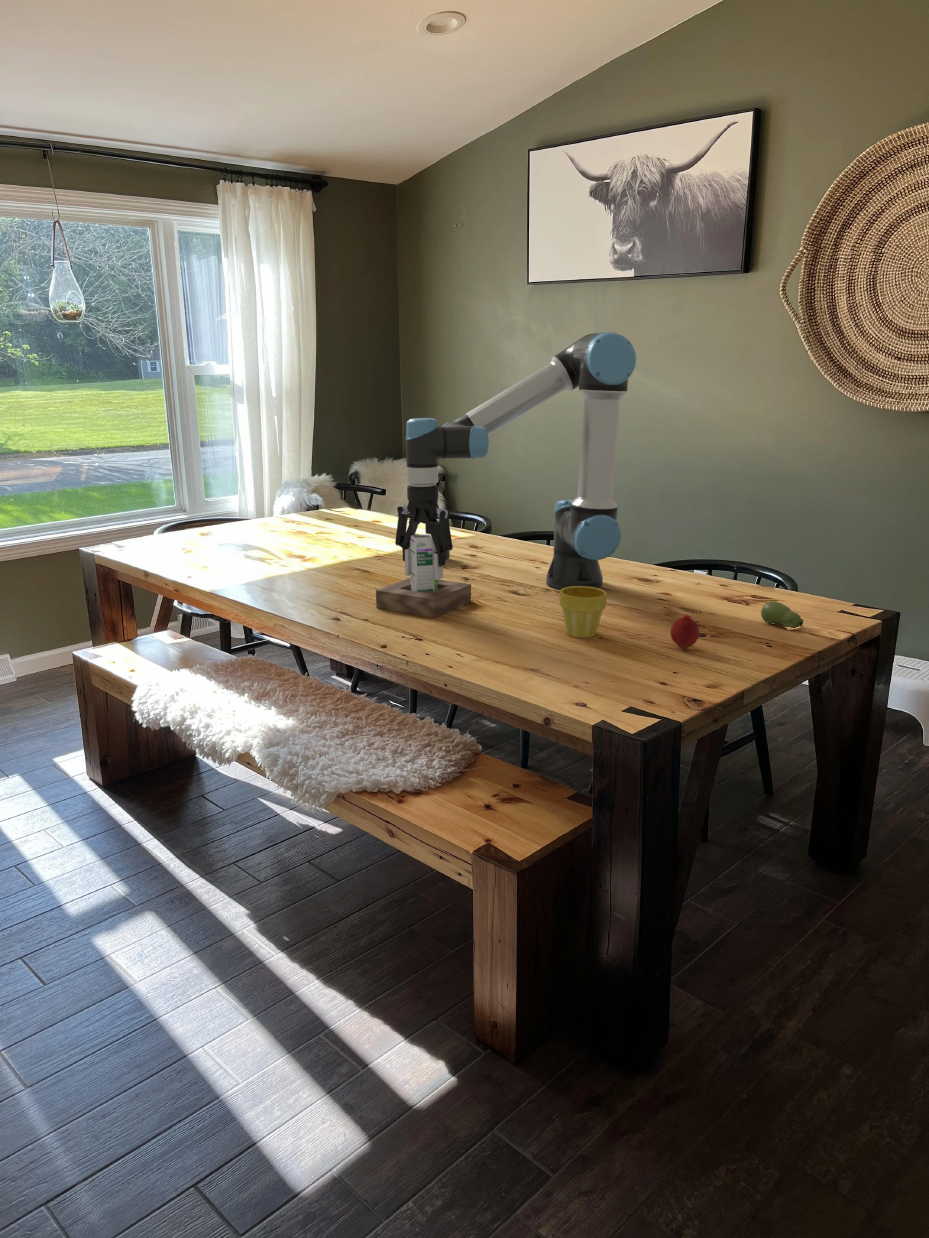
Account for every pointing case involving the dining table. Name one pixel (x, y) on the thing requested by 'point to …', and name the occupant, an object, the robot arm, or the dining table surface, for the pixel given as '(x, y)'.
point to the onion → (684, 631)
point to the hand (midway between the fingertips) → (424, 576)
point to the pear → (780, 615)
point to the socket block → (423, 598)
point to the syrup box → (422, 563)
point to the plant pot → (582, 609)
